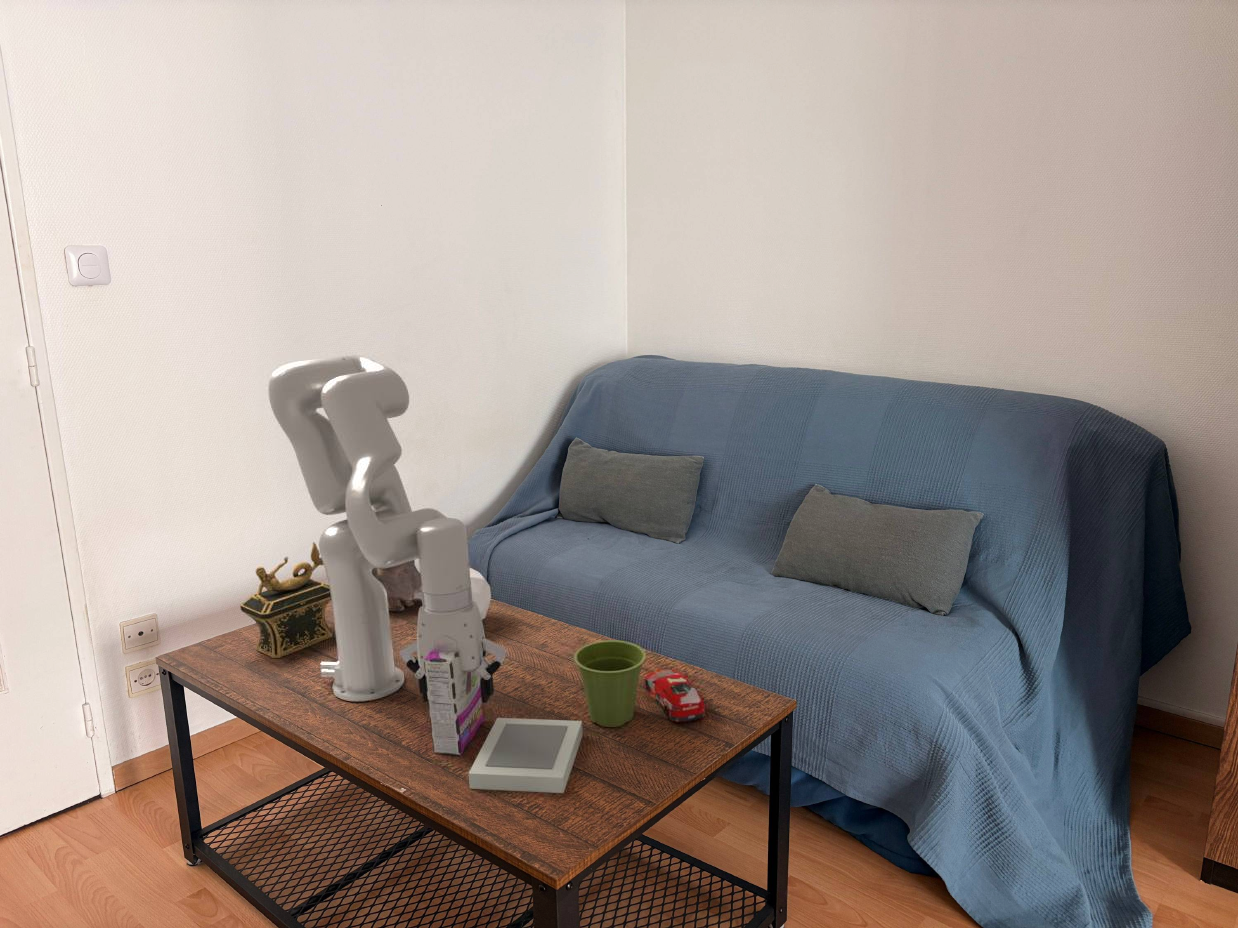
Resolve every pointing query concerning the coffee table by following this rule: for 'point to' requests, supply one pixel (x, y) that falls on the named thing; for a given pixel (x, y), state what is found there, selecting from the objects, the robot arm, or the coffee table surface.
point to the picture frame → (527, 755)
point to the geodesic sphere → (480, 592)
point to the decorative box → (290, 609)
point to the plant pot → (610, 679)
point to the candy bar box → (452, 702)
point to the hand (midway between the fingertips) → (457, 698)
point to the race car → (675, 695)
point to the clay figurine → (399, 584)
